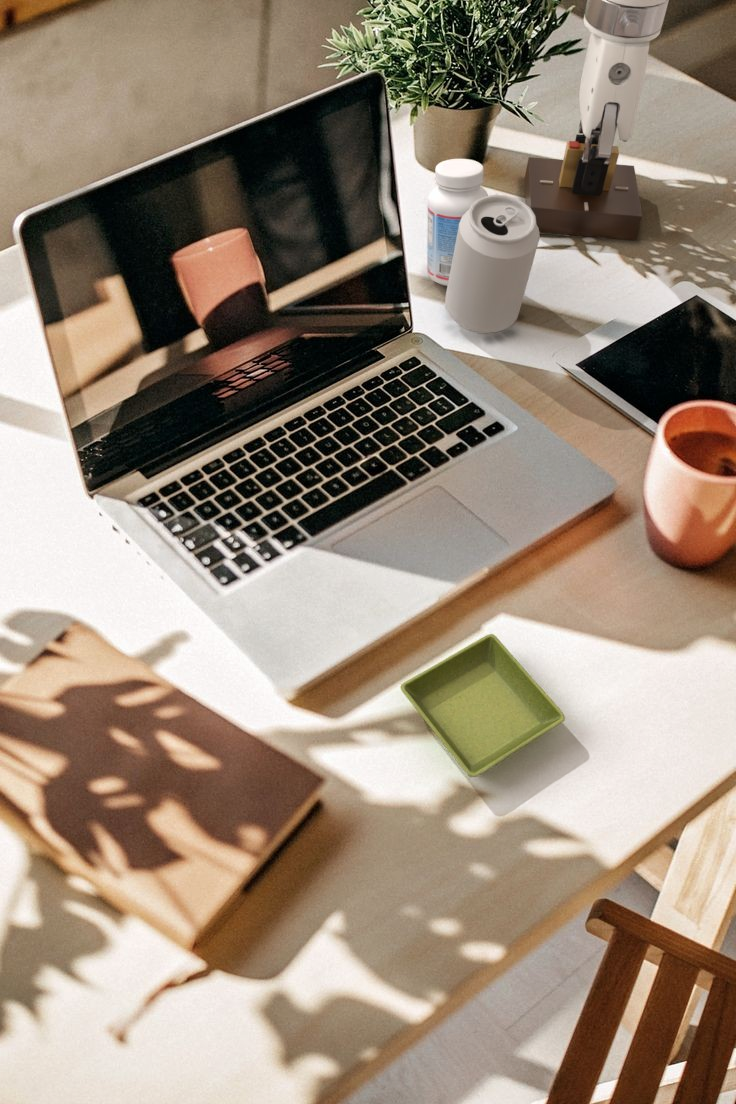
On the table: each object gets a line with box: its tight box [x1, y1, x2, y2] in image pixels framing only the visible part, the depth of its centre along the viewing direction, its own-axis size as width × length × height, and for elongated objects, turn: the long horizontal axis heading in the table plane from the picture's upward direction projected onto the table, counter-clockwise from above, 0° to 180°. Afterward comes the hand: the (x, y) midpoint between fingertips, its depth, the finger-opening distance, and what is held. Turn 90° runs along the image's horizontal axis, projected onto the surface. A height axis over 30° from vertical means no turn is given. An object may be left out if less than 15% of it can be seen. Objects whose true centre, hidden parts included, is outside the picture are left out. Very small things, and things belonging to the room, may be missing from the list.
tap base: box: [523, 156, 643, 241], centre depth 115 cm, size 12×10×3 cm
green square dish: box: [400, 633, 566, 778], centre depth 74 cm, size 9×9×2 cm
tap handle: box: [559, 140, 620, 191], centre depth 112 cm, size 6×1×5 cm, turn 86°
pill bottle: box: [426, 158, 489, 287], centre depth 103 cm, size 6×6×11 cm
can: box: [444, 194, 541, 334], centre depth 98 cm, size 8×8×12 cm
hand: (585, 180), depth 113 cm, fingers open, 3 cm apart
